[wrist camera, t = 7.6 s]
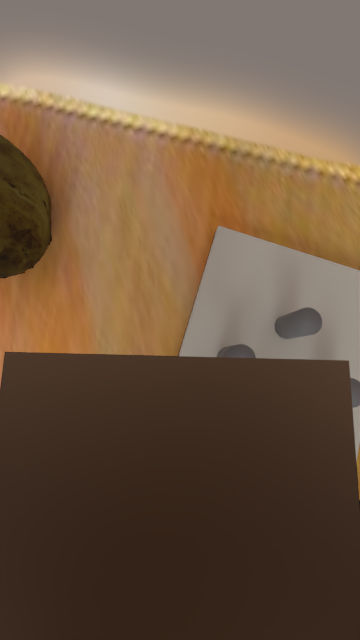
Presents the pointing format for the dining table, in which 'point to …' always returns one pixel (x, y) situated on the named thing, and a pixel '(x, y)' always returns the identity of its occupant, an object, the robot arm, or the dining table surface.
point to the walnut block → (177, 498)
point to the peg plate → (276, 307)
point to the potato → (21, 212)
